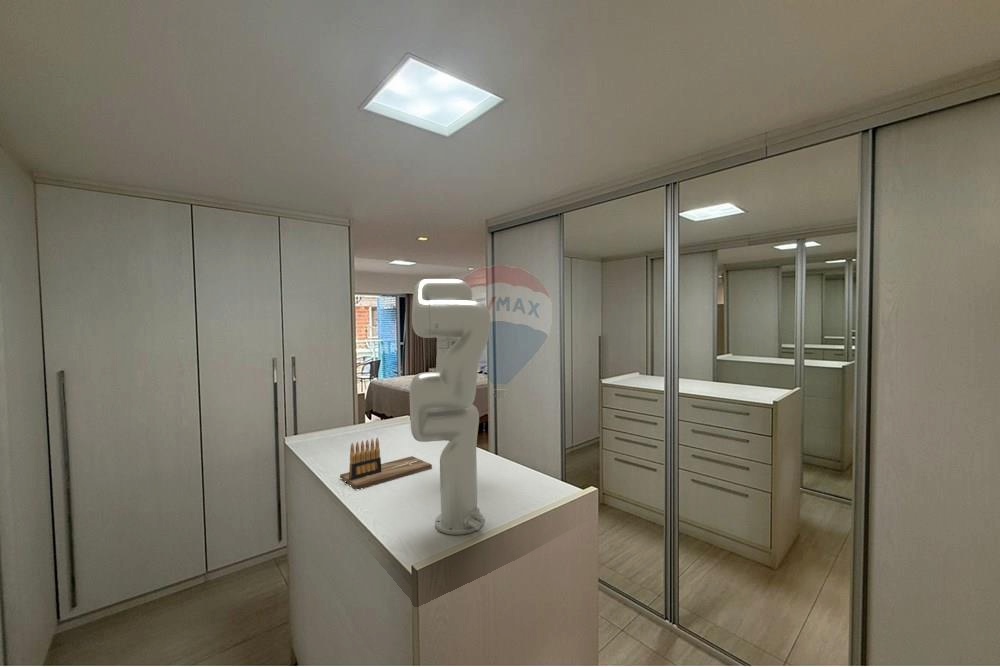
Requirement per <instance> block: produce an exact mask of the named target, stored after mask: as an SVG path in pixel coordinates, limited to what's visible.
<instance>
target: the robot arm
mask: <svg viewBox="0 0 1000 667" xmlns="http://www.w3.org/2000/svg"><path fill="white" fill-rule="evenodd" d="M411 325H412V329H413V332H414V333H415V335H417V336H419V337H420V338H424V339H425V338H426V339H427V338H429V339H431V338H433V339H434V338H436V350H437V351H436V360H435V361H436V362H435V368H433V370H432V371H425V372H420V373H417V374H416V375H414V376H413V378H412V379H411V382H410V386H409V415H410V416H409V420H410V431H411V435H412V437H413V438H414V440H415V441H417V442H420V443H427V442H429V443H430V442H442V441H443V442H444V441H445V442H447V444H446V445H445V447H444V448H443V450H442V451H441V453H440V456H439V457H440V458H439V479H440V480H439V481H440V482H439V484H440V489H439V490H440V514H438V515H437V516H436V518H435V520H434V524H435V528H436V529H437V530H438V531H439V532H441V533H443V534H447V535H454V536H455V535H466V534H470V533H473V532H475V531H479V530H480V529H481V527H482V526H483V525H484V524H485V522H486V519H485V518H484V515H483V514H482V513H481V512H480V508H479V507H478V472H477V469H478V468H477V466H478V465H477V459H478V458H477V447H478V446H477V443H478V441H477V440H478V435H479V434H478V432H479V425H480V413H479V409H478V408H477V406H475V405H474V404H473V403H474V401H475V398H476V393H477V384H478V369H479V363H480V361H481V358H482V355H483V353H484V351H485V349H486V346H487V343H488V341H489V336H490V332H491V313H490V310H489V308H488V306H487V305H485V304H484V303H483V302H479V301H476V300H473V290H472V288H471V287H470V285H469V284H468V282H466V281H464V280H461V279H458V278H423V279H421V280H419V281H418V282H417V283H416V284H415V286H414V290H413V294H412V308H411Z"/></svg>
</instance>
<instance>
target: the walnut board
mask: <svg viewBox="0 0 1000 667" xmlns="http://www.w3.org/2000/svg"><path fill="white" fill-rule="evenodd" d="M432 466H433V464H432V463H430V462H427V461H424V460H422V459H420V458H417V457H415V456H412V455H410V456H408V457H403V458H399V459H396V460H391V461H387V462H384V463H381V470H382V472H379V473H375V474H372V475H368V476H364V477H360V478H357V479H353V480H352V479H350V478H349V471H348V472H346V473H345V472H344V473H341V474H339V479H340V478H342V479H343V480H344V481H346V482H347V483H348V484H347V483H346V482H345V483H346V484H347V485H349V484H350V485H351V487H352V486H353V487H354V488H353V487H352V488H353V489H355V488H356V489H360V490H362V489H361V488H363V489H366V488H365V487H367V488H369V486H370V487H374V486H376V485H380V483H381V484H384V483H386V482H390V481H393V480H394V481H395V480H397V479H401V478H405V477H407V476H412V475H415V474H418V473H421V472H425V471H428V470H432V469H433V467H432ZM343 480H342V481H343ZM344 481H343V482H344ZM350 485H349V486H350ZM373 485H374V486H373ZM356 489H355V490H356Z"/></svg>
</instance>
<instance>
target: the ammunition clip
mask: <svg viewBox="0 0 1000 667" xmlns="http://www.w3.org/2000/svg"><path fill="white" fill-rule="evenodd" d="M381 460H382V458H381V449H380V442H379V437H376V439H375V442H374V439H373V438H371V439H370V442H369V439H366V441H365V443H364V440H361V442H360V444H359V441H356V443H355V445H354V442H351V444H350V454H349V471H348V472H349V478H350V479H352V480H353V479H357V478H360V477H364V476H368V475H372V474H375V473H379V472H382V470H381V464H382V461H381Z"/></svg>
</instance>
